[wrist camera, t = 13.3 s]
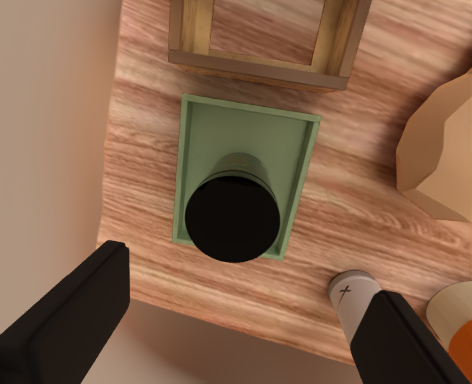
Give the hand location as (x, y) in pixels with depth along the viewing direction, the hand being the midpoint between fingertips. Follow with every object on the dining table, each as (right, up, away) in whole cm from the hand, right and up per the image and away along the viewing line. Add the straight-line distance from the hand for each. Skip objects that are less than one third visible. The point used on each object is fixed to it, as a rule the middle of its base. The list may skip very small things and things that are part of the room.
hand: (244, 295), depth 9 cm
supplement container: (0, +5, +17) cm, 18 cm away
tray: (0, +5, +18) cm, 19 cm away
